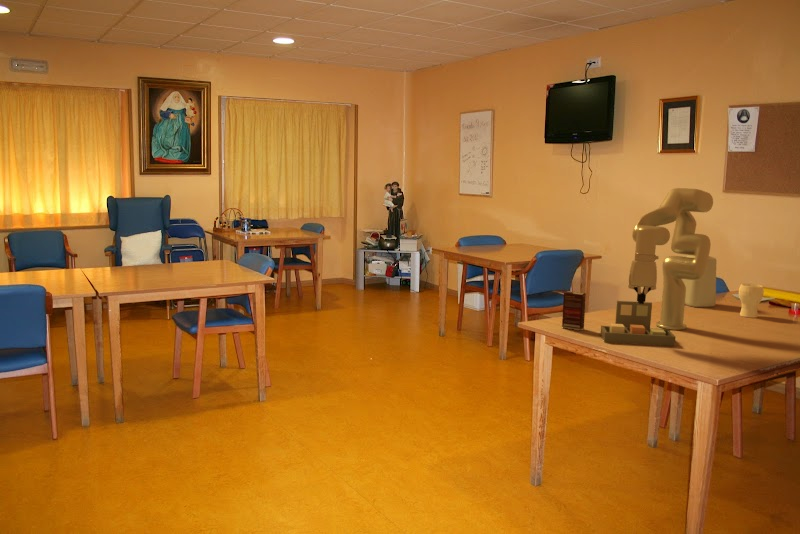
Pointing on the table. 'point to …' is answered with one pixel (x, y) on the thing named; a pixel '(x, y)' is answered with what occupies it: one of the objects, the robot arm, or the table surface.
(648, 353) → the table surface
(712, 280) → the beige rounded canister
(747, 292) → the cup
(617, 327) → the tan square block
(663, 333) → the olive square block
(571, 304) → the supplement box
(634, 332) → the terracotta key
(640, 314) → the card
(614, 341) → the key pad frame
